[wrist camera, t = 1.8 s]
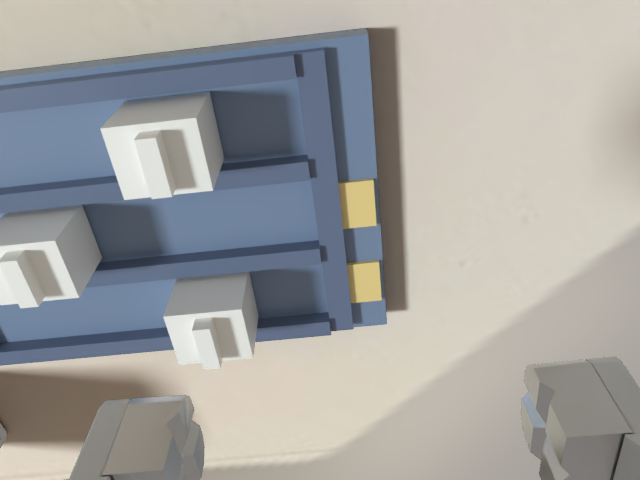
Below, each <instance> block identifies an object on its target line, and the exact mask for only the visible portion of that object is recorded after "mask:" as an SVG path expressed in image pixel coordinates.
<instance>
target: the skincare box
mask: <svg viewBox="0 0 640 480" xmlns="http://www.w3.org/2000/svg"><path fill="white" fill-rule="evenodd" d="M6 438H7V433H6V430H5V429H4V428H3V426H2V425H1V423H0V448H1V446H2V445H3V443H4V441H5V440H6Z"/></svg>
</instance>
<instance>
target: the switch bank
mask: <svg viewBox="0 0 640 480" xmlns="http://www.w3.org/2000/svg"><path fill="white" fill-rule="evenodd" d="M209 91H210V95H211V100H212V104H213V109H214V113H215V118H216V123H217V127H218V132H219V136H220V141H221V146H222V150H223V155H224V160H223V163H222V166H221V169H220V172H219V175H218V178H217V181H216V184H215V187H214V190H213V191H206V192H196V193H187V194H177V195H173V196H172V197H168V198H158V199H151V197H149V198H140V199H130V200H124V198H123V195H122V192H121V189H120V186H119V183H118V180H117V177H116V174H115V171H114V168H113V165H112V162H111V159H110V156H109V153H108V150H107V147H106V144H105V141H104V138H103V135H102V132H101V130H100V128H101V127H102V126H103V125H104V124H105V123H106V122H107V121H108V119H109V118H110V117H111V116H112V115H113V114H114V113H115V112H116V111H117V109H118V108H119V107H120V106H121V105H122V104H123V103H124V102H125V101H131V100H140V99H149V98H157V97H166V96H175V95H183V94H192V93H201V92H209ZM75 205H82V206H83V208H84V211H85V214H86V216H87V219H88V222H89V224H90V227H91V229H92V232H93V235H94V237H95V240H96V243H97V245H98V248H99V250H100V253H101V256H102V259H101V261H100V263H99V264H98V266H97V268H96V269H95V271H94V273H93V275H92V276H91V278H90V280H89V282H88V283H87V285H86V287H85V288H84V290H83V292H82V294H81V295H80V297H79V298H71V299H61V300H51V301H42V302H41V304H40V305H39V307H31V308H21V309H20V307H19V305H18V304H10V305H0V365H11V364H22V363H33V362H43V361H54V360H65V359H76V358H87V357H98V356H109V355H119V354H130V353H141V352H152V351H163V350H174V348H173V345H172V342H171V339H170V336H169V333H168V330H167V327H166V324H165V321H164V318H163V316H164V313H165V310H166V307H167V304H168V302H169V299H170V296H171V293H172V290H173V288H174V285H175V282H176V279H180V278H190V277H200V276H210V275H220V274H230V273H241V272H249V274H250V278H251V283H252V287H253V292H254V297H255V301H256V306H257V310H258V315H259V316H258V324H257V331H256V339H255V342H261V341H271V340H282V339H293V338H304V337H315V336H326V335H331V331H338V330H349V329H353V327H361V326H372V325H383V324H387V318H386V303H385V287H384V272H383V256H382V240H381V225H380V209H379V194H378V178H377V162H376V147H375V131H374V116H373V100H372V84H371V69H370V53H369V38H368V32H367V30H366V28H362V29H354V30H346V31H337V32H329V33H320V34H312V35H304V36H295V37H287V38H279V39H270V40H262V41H253V42H245V43H237V44H228V45H220V46H212V47H203V48H195V49H186V50H178V51H170V52H161V53H153V54H145V55H136V56H128V57H120V58H111V59H103V60H94V61H86V62H78V63H69V64H61V65H53V66H44V67H36V68H27V69H19V70H11V71H2V72H0V219H1V218H2V217H3V216H4V215H5V213H9V212H19V211H28V210H38V209H47V208H57V207H66V206H75Z"/></svg>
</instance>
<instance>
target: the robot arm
mask: <svg viewBox="0 0 640 480" xmlns="http://www.w3.org/2000/svg"><path fill="white" fill-rule="evenodd" d="M524 383H525V385H526V387H527V390H528V393H527V394H525V395H524V396H523V397H522V399H521V420H522V428H523V432H524V435H525V439H526V442H527V444H528V447H529V449H530V452H531V453H533V454H534V455H535V456H536V457H538V458H539V459H540V460H541V464H540V471H539V475H540V478H541V480H640V388H639V386H638V385H637V383H636V382H635V380H634V379H633V377H632V376H631V374H630V373H629V371H628V370H627V368H626V367H625V365H624V364H623V362H622V361H621V360H620V359H618V358H617V357H604V358H594V359H586V360H572V361H562V362H553V363H541V364H531V365H527V367H526V369H525V374H524ZM193 412H194V407H193V404H192V402H191V399H190V396H187V395H178V396H162V397H146V398H133V399H121V400H106V401H105V402H104V403H103V404H102V405H101V406H100V407H99V409H98V412H97V414H96V416H95V419H94V421H93V424H92V426H91V428H90V431H89V433H88V435H87V438H86V440H85V443H84V445H83V447H82V450H81V452H80V455H79V457H78V459H77V462H76V464H75V466H74V469H73V471H72V474H71V476H70V478H69V479H66V480H200V479H201V476H202V472H203V466H204V441H203V435H202V431H201V428H200V425H198V424H197V423H195V422H194V421H193V420H192V416H193Z"/></svg>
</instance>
